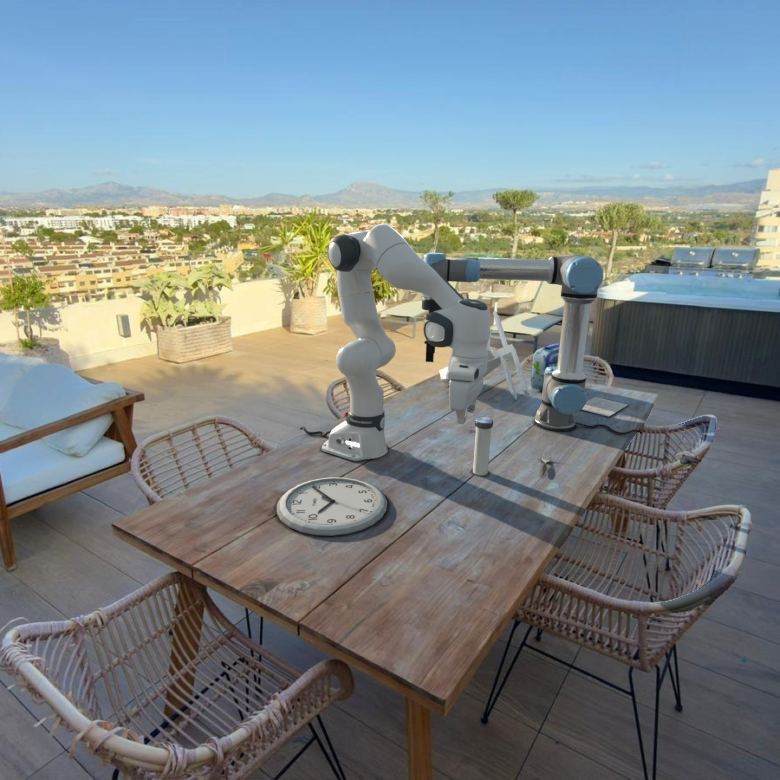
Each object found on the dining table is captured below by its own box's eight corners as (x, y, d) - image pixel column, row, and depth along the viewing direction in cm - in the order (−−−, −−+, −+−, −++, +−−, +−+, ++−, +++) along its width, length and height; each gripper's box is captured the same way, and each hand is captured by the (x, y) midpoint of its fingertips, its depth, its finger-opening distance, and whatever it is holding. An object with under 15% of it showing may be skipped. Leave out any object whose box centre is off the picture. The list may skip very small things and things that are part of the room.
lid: (485, 430, 155) (485, 424, 155) (471, 425, 159) (471, 419, 159) (496, 426, 159) (496, 420, 158) (482, 421, 163) (483, 415, 162)
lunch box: (547, 395, 239) (552, 351, 233) (526, 390, 247) (530, 347, 240) (574, 384, 257) (579, 343, 251) (554, 380, 264) (558, 339, 258)
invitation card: (608, 416, 214) (573, 407, 224) (608, 416, 214) (573, 408, 224) (628, 404, 229) (594, 396, 238) (628, 405, 229) (594, 397, 238)
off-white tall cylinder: (481, 477, 161) (485, 425, 156) (469, 471, 164) (473, 421, 159) (490, 472, 163) (494, 421, 158) (479, 467, 167) (483, 417, 162)
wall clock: (392, 527, 129) (268, 531, 127) (391, 533, 130) (269, 537, 127) (383, 473, 158) (282, 475, 155) (383, 478, 158) (282, 480, 156)
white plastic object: (461, 429, 252) (437, 405, 227) (444, 352, 274) (420, 323, 250) (535, 404, 240) (518, 377, 215) (510, 326, 262) (492, 293, 237)
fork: (538, 475, 162) (539, 470, 161) (542, 455, 176) (543, 450, 175) (547, 477, 161) (547, 471, 160) (550, 457, 175) (551, 451, 174)
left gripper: (467, 355, 141) (464, 403, 145) (445, 373, 123) (442, 428, 127) (490, 357, 139) (487, 407, 143) (471, 376, 121) (468, 432, 125)
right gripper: (424, 293, 195) (422, 349, 202) (419, 302, 172) (417, 365, 178) (444, 294, 195) (441, 350, 201) (442, 303, 171) (439, 366, 177)
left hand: (466, 417), depth 135 cm, fingers open, 8 cm apart
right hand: (430, 357), depth 190 cm, fingers open, 13 cm apart
